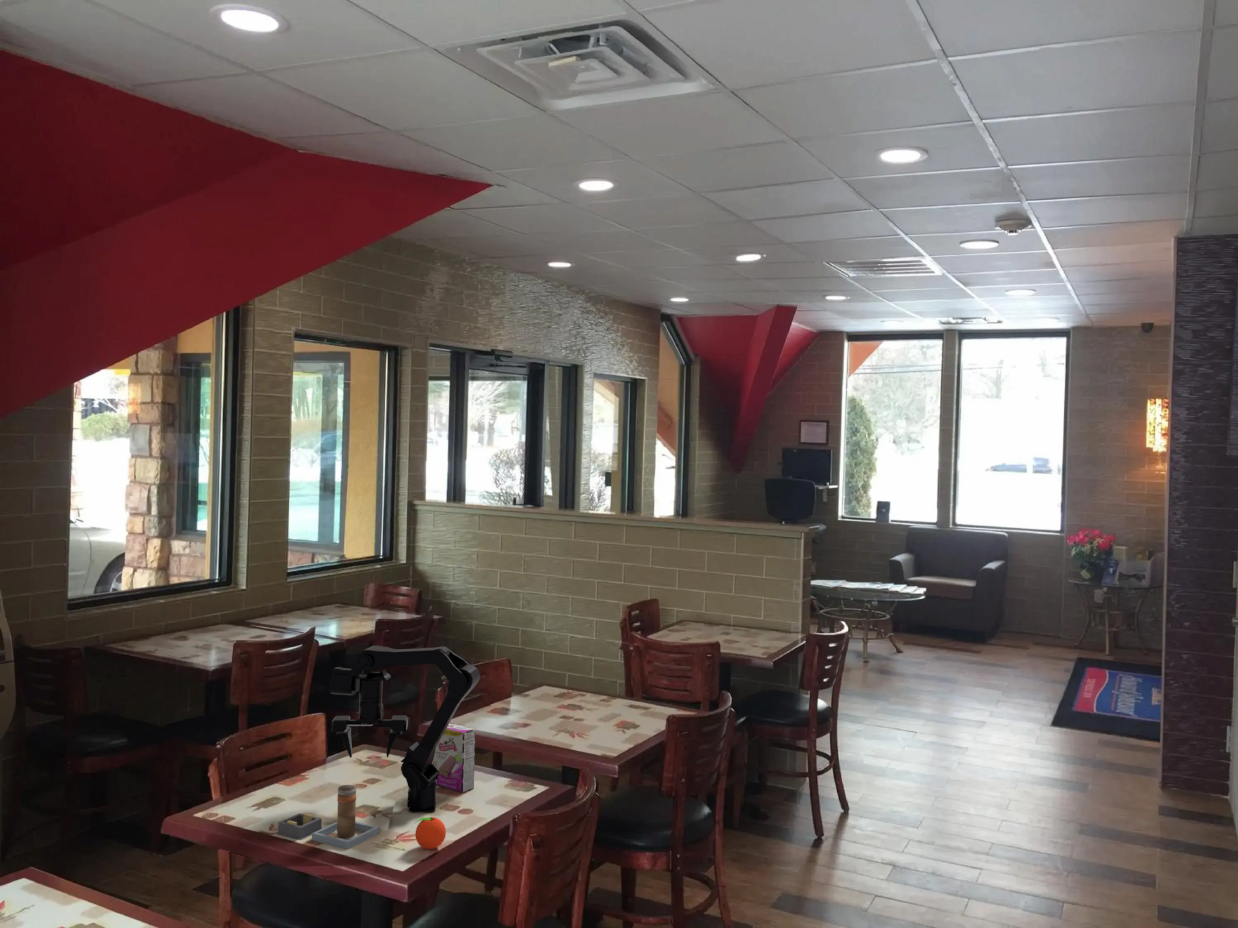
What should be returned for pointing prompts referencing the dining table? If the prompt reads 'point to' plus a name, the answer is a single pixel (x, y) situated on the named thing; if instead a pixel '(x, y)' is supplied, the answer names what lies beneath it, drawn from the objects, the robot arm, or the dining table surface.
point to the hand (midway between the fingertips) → (369, 756)
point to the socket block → (299, 826)
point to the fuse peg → (346, 812)
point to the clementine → (430, 832)
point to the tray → (324, 838)
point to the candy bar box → (456, 758)
